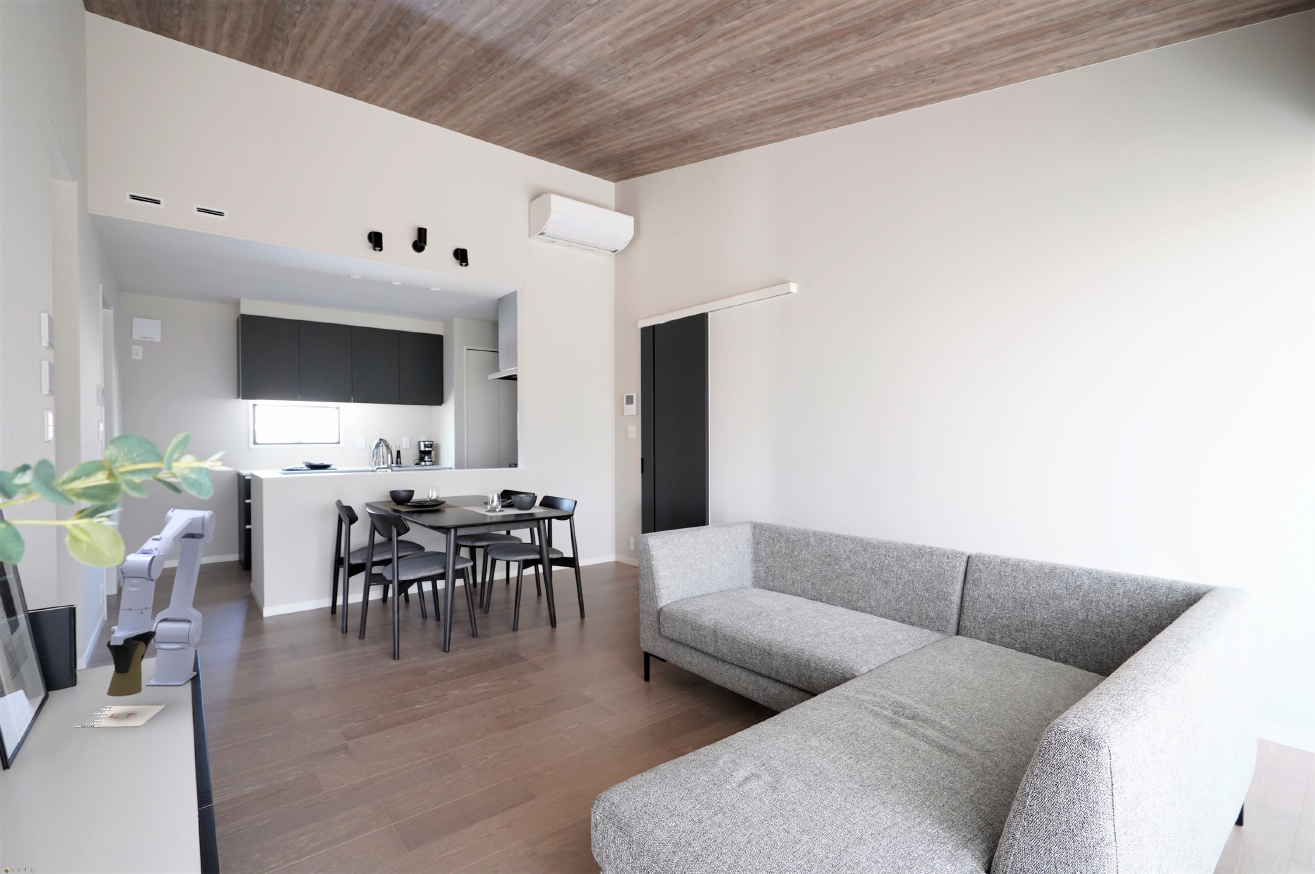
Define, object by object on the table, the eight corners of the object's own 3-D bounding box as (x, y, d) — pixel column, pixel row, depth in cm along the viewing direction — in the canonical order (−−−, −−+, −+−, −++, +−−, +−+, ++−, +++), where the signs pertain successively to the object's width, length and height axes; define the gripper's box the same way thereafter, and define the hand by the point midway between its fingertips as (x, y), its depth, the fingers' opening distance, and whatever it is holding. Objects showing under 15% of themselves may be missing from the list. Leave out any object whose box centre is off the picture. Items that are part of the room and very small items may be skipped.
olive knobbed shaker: (127, 697, 143) (134, 645, 144) (99, 695, 143) (107, 643, 144) (148, 689, 149) (155, 639, 150) (122, 687, 149) (129, 637, 150)
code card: (105, 706, 150) (105, 705, 150) (165, 706, 153) (165, 705, 153) (74, 727, 139) (74, 726, 139) (140, 726, 142) (140, 725, 142)
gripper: (131, 600, 153) (124, 658, 153) (97, 614, 139) (88, 679, 139) (166, 601, 155) (159, 659, 154) (136, 615, 141) (127, 679, 140)
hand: (128, 668), depth 147 cm, fingers closed on olive knobbed shaker, 5 cm apart
